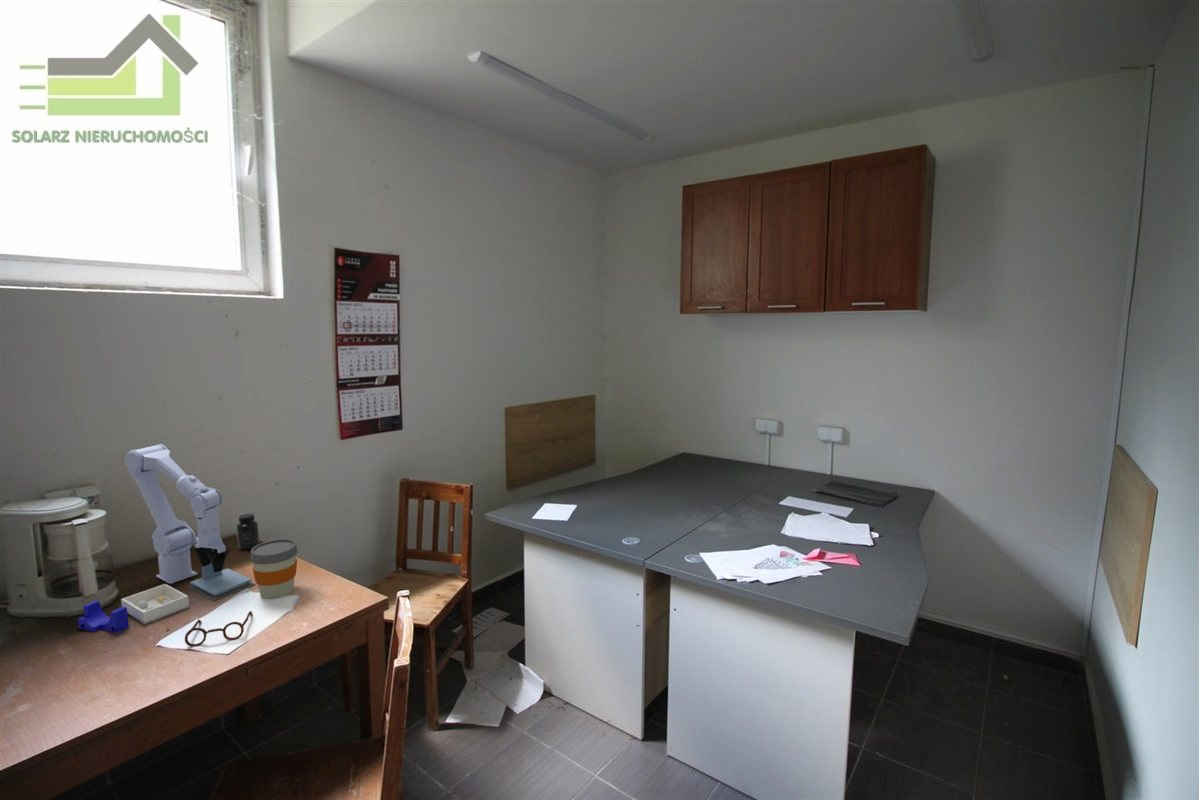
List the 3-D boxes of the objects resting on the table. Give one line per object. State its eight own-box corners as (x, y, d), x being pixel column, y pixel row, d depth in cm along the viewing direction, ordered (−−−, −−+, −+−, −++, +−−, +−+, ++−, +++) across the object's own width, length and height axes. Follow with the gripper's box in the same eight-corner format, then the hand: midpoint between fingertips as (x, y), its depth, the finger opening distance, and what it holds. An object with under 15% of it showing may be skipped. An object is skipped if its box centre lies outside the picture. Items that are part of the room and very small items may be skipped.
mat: (189, 588, 174) (189, 586, 174) (229, 573, 185) (229, 572, 184) (214, 601, 167) (214, 599, 167) (255, 584, 177) (254, 583, 177)
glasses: (185, 649, 144) (183, 631, 143) (199, 623, 156) (198, 607, 155) (243, 639, 149) (242, 622, 148) (253, 615, 161) (252, 599, 160)
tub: (122, 610, 161) (120, 599, 160) (166, 594, 170) (165, 583, 170) (144, 624, 154) (143, 612, 153) (189, 606, 163) (188, 595, 163)
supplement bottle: (264, 543, 208) (261, 513, 207) (251, 550, 202) (248, 519, 200) (247, 542, 209) (244, 512, 207) (233, 549, 202) (230, 518, 201)
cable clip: (79, 628, 152) (76, 608, 151) (98, 620, 156) (95, 600, 155) (110, 636, 148) (108, 615, 147) (129, 627, 153) (126, 607, 152)
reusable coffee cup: (303, 580, 181) (300, 537, 179) (295, 599, 169) (292, 553, 167) (259, 585, 177) (256, 541, 175) (248, 605, 165) (244, 557, 163)
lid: (190, 586, 174) (189, 569, 174) (228, 572, 184) (226, 557, 183) (214, 598, 168) (212, 581, 167) (251, 583, 177) (250, 567, 176)
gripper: (182, 527, 176) (186, 567, 178) (206, 537, 168) (210, 579, 171) (207, 520, 182) (210, 559, 184) (231, 529, 175) (234, 570, 177)
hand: (212, 568), depth 178 cm, fingers open, 7 cm apart
